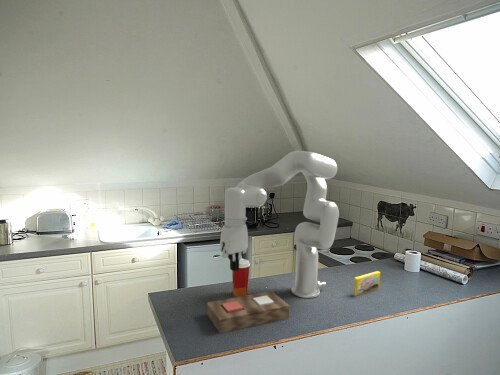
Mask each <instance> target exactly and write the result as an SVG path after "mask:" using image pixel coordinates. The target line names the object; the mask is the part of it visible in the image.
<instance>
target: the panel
mask: <svg viewBox="0 0 500 375" xmlns="http://www.w3.org/2000/svg"><path fill="white" fill-rule="evenodd" d="M261 296H268V297H269V298H270V299H271V300H272V301H273V302H274V304H270V305H265V306H260V307H259V306H258V305H257V304H256V303H255V302H254V301H253V298H256V297H261ZM233 301H237V302H238V303H239V304H240V305H241V306H242V307H243V310H240V311H235V312H230V313H227V312H226V311H225V310H224V309H223V308H222V304H223V303H228V302H233ZM206 309H207V310H206V315H207V317H208V318H209V320H210V321H211V322H212V325H214V327H215V329H216V330H217V331H218V332H219V334H223V333H228V332H231V331H235V330H242V329H246V328H249V327H254V326H259V325H262V324H266V323H272V322H276V321H281V320H286V319H289V318H290V305H289V304H288V303H287V302H286V301H284V300H283V299H282V298H281V297H280V296H278V294H276V293H275V292H274V291H273V290H269V291H264V292H259V293H258V292H257V293H254V294H247V295H246V296H241V297H236V296H235V297H231V298H226V299H222V300H221V299H220V300H215V301H209V302H207V305H206Z"/></svg>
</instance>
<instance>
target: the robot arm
mask: <svg viewBox="0 0 500 375" xmlns="http://www.w3.org/2000/svg"><path fill="white" fill-rule="evenodd" d="M337 172H338V164H337V163H336V161H335V160H334V159H332V158H330V157H328V156H325V155H322V154H319V153H316V152H313V151H306V150H305V151H303V150H294V151H293V150H292V151H291V152H289V153H288V154H286V155H285V156H284V157H282V158H281V159H280V160H278V161H277V162H276V163H274V164H273V165H272V166H270V167H268V168H264V169H262V170H260V171H258V172H255V173H253V174H251V175H249V176H247V177H246V178H244V179H242V180H241V181H240V182H238V183H237V185H236V186H234V187H229V188H226V189H225V191H224V225H223V226H222V228H221V233H220V240H219V242H220V243H219V251H220V252H221V253H222V255H221V257H222V258H225V259H228V260H229V262H230V263H229V269H230V270H231V271H232V270H233V271H235V272H236V271H239V260H240V259H242V256H243V255H244V254H246V253H247V251H248V248H249V232H248V226H247V224H246V221H247V220H248V217H247V216H246V215H247V214H246V211H247V210H246V208H260V207H262V206H263V205H264V204H266V202H267V199H268V194H267V191H266V190H265V189H268V188H276V187H281V186H283V185H285V184H286V183H287V182H288V181H289V182H290V180H292V178H294V177H295V176H296V175H298V174H299V173H302V175H303V177H304V178H305V181H306V183H307V188H306V194H305V199H304V203H303V210H302V211H303V216H304V217H305V218H306V219H308V220H311V221H314V222H318V223H319V224H316V223H313V222H309V221H304V222H303V221H302V222H300V223H299V224H297V226H296V227H295V230H294V239H295V243H296V244H295V246H296V258H295V277H294V281H295V282H294V283H295V284H294V285H293V286H292V287H291V293H292V294H293V295H295V296H296V297H300V298H305V299H313V298H316V297H319V295H321V294H320V293H321V290H320V288H321V287H325V286H327V285H326V281H322V282H321V281H320V280H318V267H319V251H318V249H319V250H323V251H324V250H329V249H330V248H331V247H332V245H333V243H334V241H335V237H336V232H337V227H338V224H339V217H340V211H339V206H338V205H337V204H336V202H334V201H330V200H327V193H328V186H327V182H326V180H330V179H333V178H334V177H335V176H336V175H337Z"/></svg>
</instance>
